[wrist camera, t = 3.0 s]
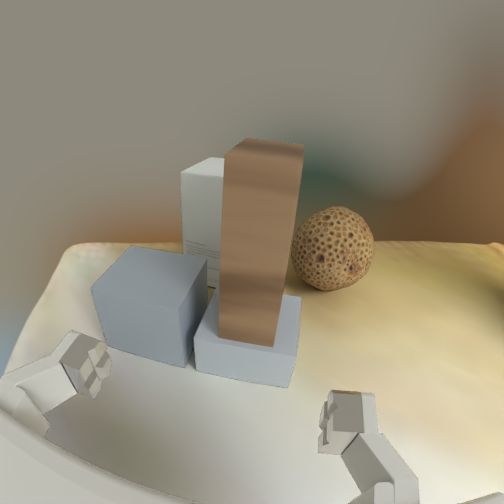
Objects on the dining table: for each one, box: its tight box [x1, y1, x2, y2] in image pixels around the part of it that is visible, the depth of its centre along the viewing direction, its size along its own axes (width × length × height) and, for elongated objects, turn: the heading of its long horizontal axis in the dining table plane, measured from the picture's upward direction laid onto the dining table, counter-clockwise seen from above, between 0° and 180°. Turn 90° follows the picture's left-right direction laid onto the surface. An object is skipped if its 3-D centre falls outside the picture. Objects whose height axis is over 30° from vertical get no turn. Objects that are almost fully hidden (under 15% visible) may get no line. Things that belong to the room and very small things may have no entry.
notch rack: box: [91, 245, 301, 388], centre depth 25 cm, size 7×16×6 cm, turn 80°
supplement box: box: [180, 157, 224, 288], centre depth 33 cm, size 7×7×13 cm
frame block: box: [219, 138, 304, 347], centre depth 21 cm, size 6×4×13 cm
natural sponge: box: [291, 206, 374, 291], centre depth 32 cm, size 9×9×10 cm
